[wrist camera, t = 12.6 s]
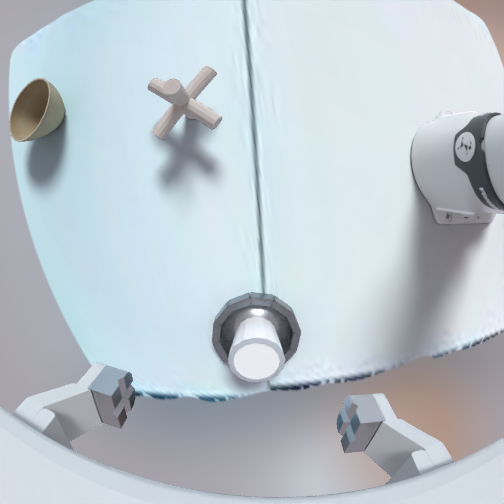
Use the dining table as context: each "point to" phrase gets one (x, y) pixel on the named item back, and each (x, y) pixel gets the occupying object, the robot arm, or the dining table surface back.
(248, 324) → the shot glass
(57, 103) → the tan bowl
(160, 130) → the pipe connector
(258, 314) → the bowl
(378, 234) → the dining table surface
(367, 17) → the dining table surface
